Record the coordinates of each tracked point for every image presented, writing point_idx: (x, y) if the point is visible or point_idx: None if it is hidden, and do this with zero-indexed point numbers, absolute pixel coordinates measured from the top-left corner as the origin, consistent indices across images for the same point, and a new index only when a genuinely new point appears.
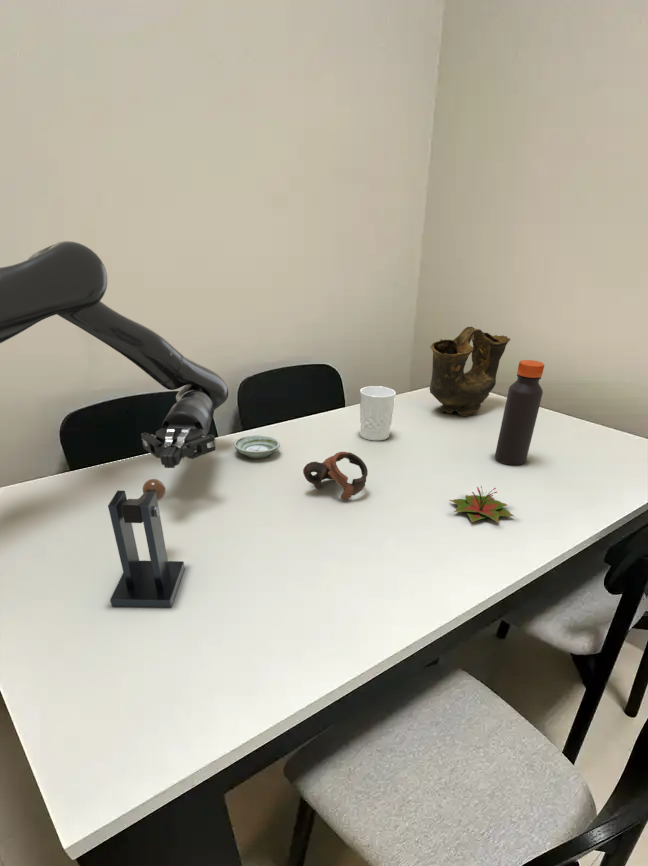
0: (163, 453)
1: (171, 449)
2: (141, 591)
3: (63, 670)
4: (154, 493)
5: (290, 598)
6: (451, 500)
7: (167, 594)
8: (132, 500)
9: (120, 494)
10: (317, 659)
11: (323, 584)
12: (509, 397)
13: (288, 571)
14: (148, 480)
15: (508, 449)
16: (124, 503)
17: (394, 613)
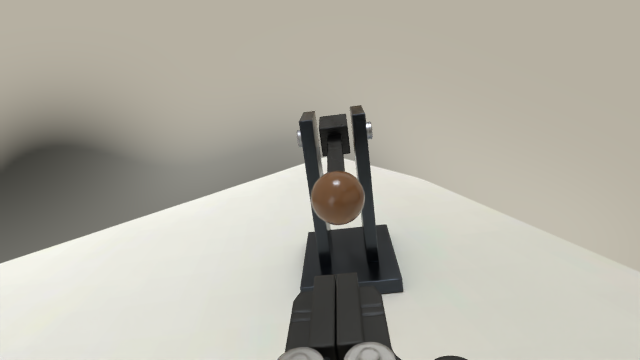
0: (370, 308)
1: (330, 319)
2: (350, 236)
3: (391, 190)
4: (300, 120)
5: (148, 271)
6: None
7: (313, 237)
8: (337, 123)
9: (354, 111)
10: (164, 221)
11: (82, 297)
12: None
13: (117, 315)
14: (344, 172)
15: None
16: (344, 116)
17: (35, 267)
